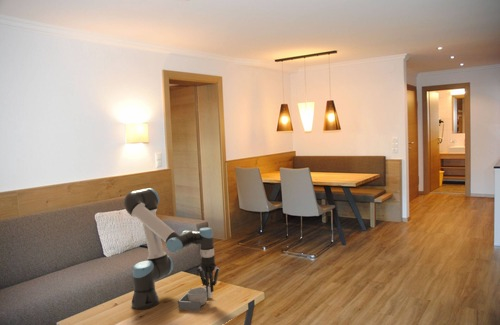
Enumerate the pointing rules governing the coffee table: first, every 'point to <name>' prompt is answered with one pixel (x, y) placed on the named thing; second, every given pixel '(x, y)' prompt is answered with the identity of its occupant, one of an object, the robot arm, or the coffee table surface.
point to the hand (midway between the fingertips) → (210, 297)
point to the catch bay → (188, 304)
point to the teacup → (198, 295)
